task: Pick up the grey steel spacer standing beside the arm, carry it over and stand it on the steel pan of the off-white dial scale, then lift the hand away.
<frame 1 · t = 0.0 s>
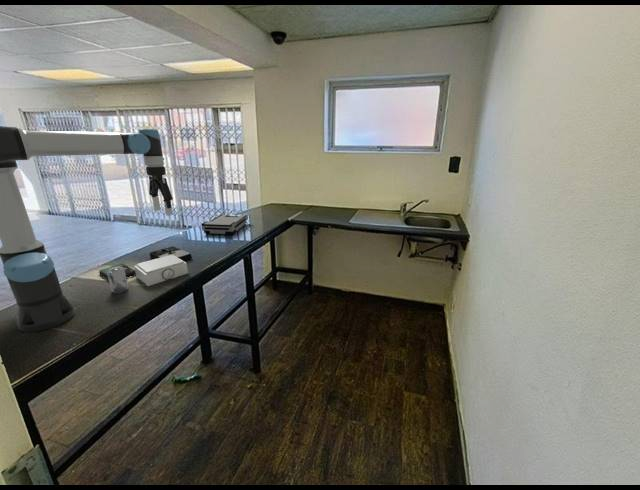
hand: (163, 212, 137), 28 cm above the table, tool pointing down, fingers open, 13 cm apart
spacer: (120, 289, 125), on the table
scale: (162, 274, 139), on the table
multimeter: (171, 259, 158), on the table
game console: (227, 229, 210), on the table
disk drive: (118, 275, 139), on the table
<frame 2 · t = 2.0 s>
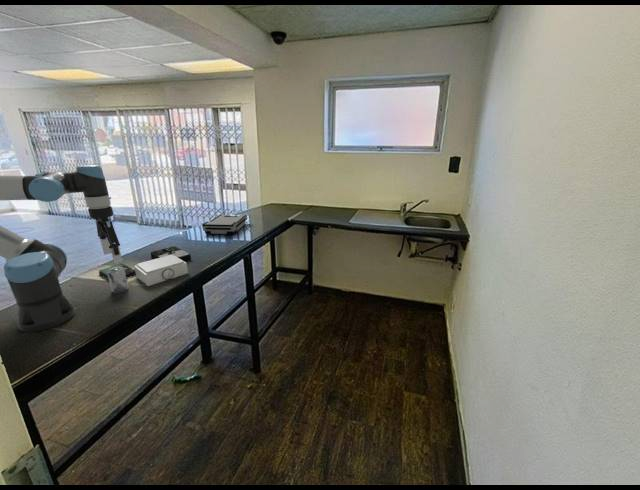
hand: (113, 257, 120), 15 cm above the table, tool pointing down, fingers open, 13 cm apart
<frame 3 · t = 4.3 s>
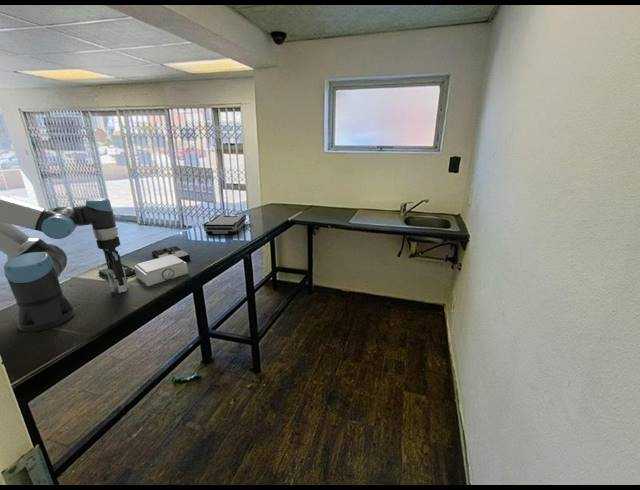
hand: (120, 288, 124), 0 cm above the table, tool pointing down, fingers closed on spacer, 6 cm apart
spacer: (120, 289, 125), on the table, touching gripper
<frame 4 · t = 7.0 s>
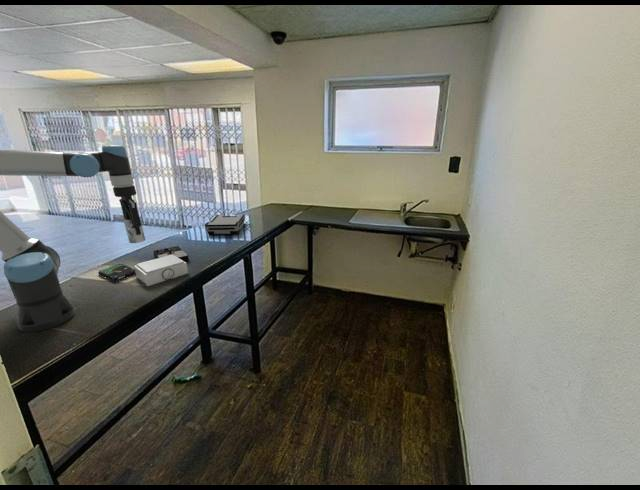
hand: (137, 239, 126), 20 cm above the table, tool pointing down, fingers closed on spacer, 6 cm apart
spacer: (137, 240, 126), point 19 cm above the table, touching gripper
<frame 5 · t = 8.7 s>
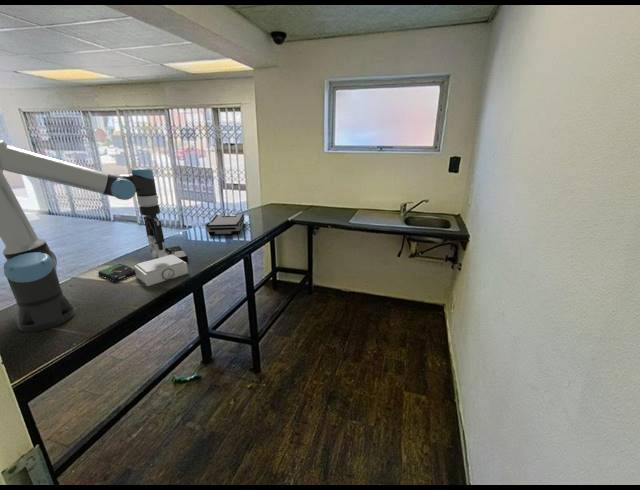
hand: (158, 254, 135), 11 cm above the table, tool pointing down, fingers closed on spacer, 6 cm apart
spacer: (158, 255, 135), point 10 cm above the table, touching gripper
when the fingers open (8 cm above the table, at t = 9.8 s): spacer drops 1 cm, resting on scale.
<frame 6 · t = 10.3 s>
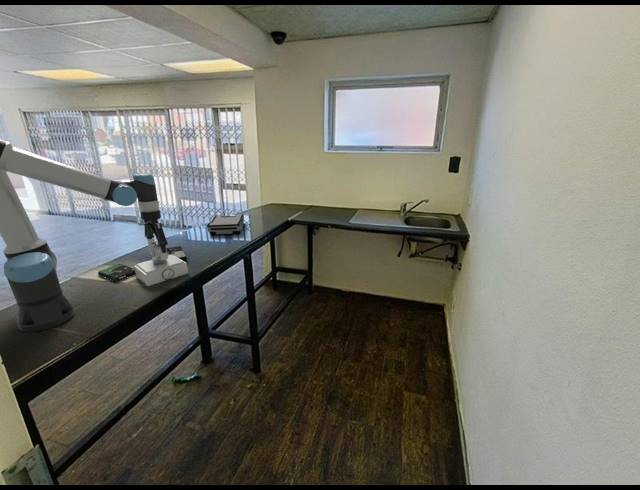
hand: (158, 255, 135), 10 cm above the table, tool pointing down, fingers open, 13 cm apart
spacer: (160, 262, 136), point 6 cm above the table, touching scale
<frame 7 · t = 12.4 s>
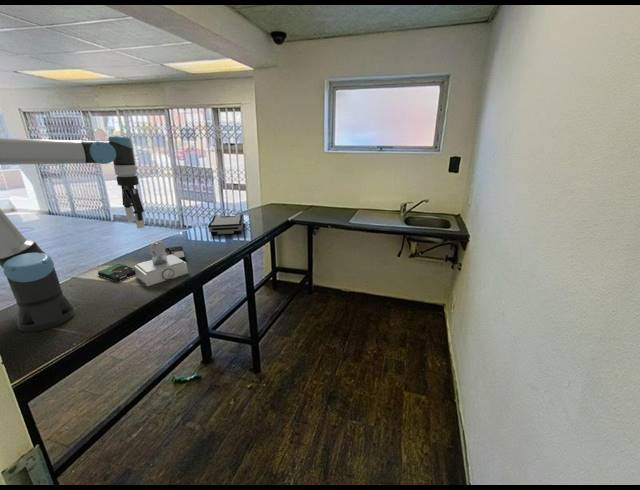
hand: (136, 224, 129), 25 cm above the table, tool pointing down, fingers open, 13 cm apart
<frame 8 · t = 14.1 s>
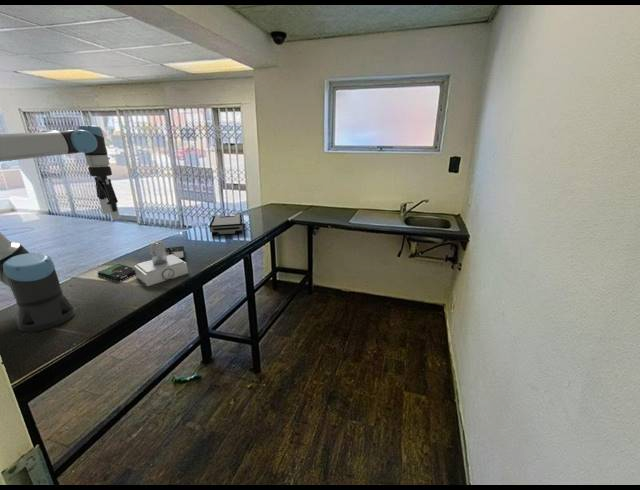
hand: (111, 216, 128), 29 cm above the table, tool pointing down, fingers open, 13 cm apart
at the end: spacer inside the target area on the scale (0.0 cm from its centre), point 6.3 cm above the scale's base; spacer tilted 1°; the gripper is holding nothing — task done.
